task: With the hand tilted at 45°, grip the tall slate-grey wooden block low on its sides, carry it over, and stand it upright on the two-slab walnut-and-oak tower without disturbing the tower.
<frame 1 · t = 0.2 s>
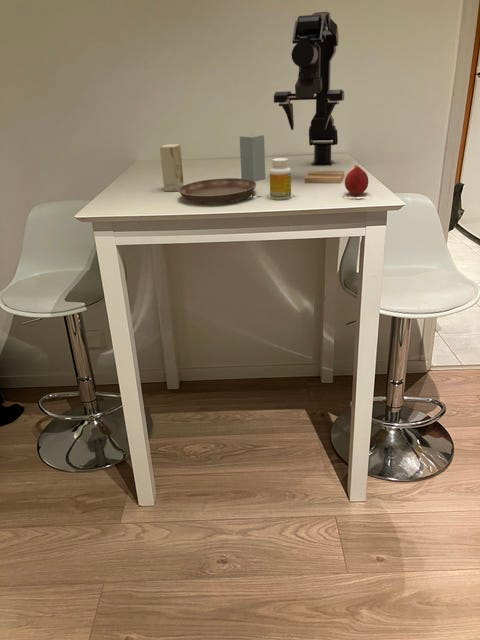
hand: (308, 129, 147), 14 cm above the table, tool pointing down, fingers open, 9 cm apart
walnut base slab: (324, 185, 151), on the table, touching oak top slab
oak top slab: (324, 179, 150), point 1 cm above the table, touching walnut base slab
plant saucer: (218, 198, 140), on the table
supplement bottle: (280, 198, 136), on the table
onion: (355, 197, 133), on the table
slate block: (253, 181, 156), on the table
skincare box: (174, 189, 152), on the table
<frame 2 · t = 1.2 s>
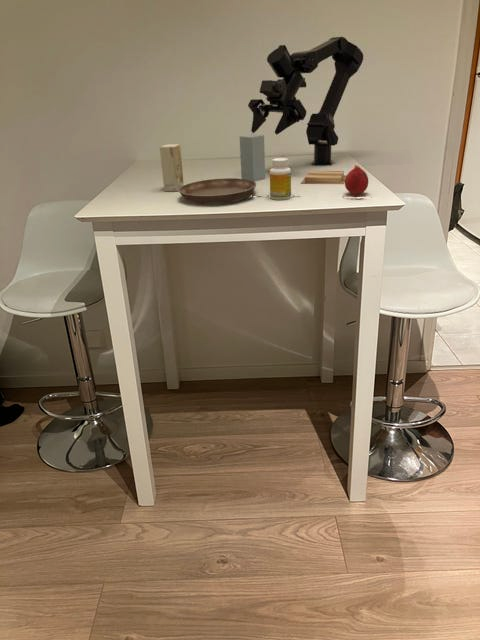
hand: (263, 132, 153), 13 cm above the table, tool tilted 45°, fingers open, 9 cm apart
nothing on the table moved.
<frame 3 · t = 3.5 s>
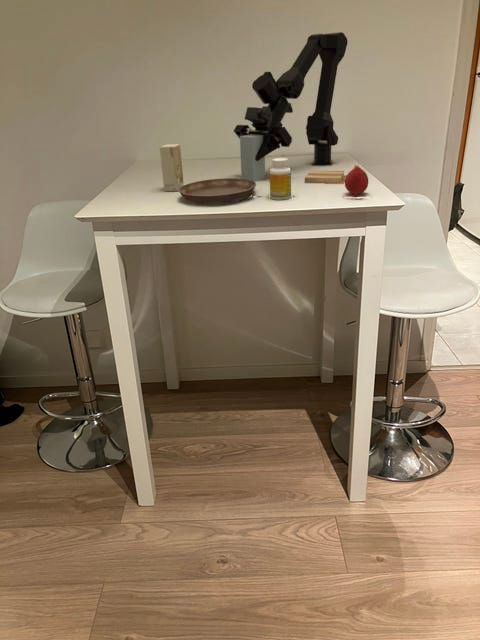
hand: (249, 159, 152), 7 cm above the table, tool tilted 45°, fingers closed on slate block, 5 cm apart
slate block: (253, 181, 156), on the table, touching gripper
everything else where it was.
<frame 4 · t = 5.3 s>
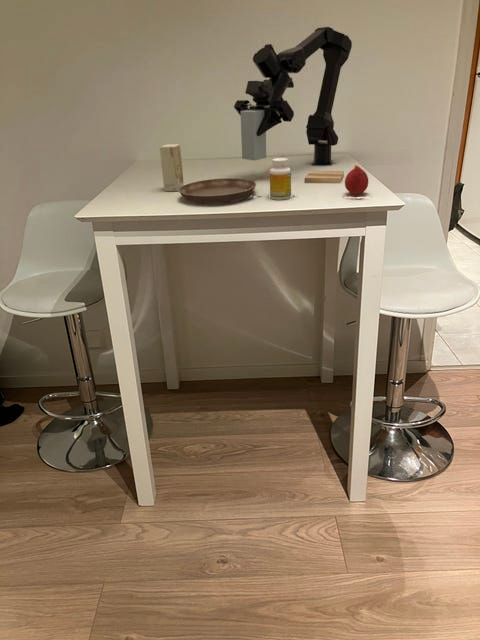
hand: (250, 134, 149), 13 cm above the table, tool tilted 45°, fingers closed on slate block, 5 cm apart
slate block: (254, 158, 153), point 7 cm above the table, touching gripper
everything else where it was.
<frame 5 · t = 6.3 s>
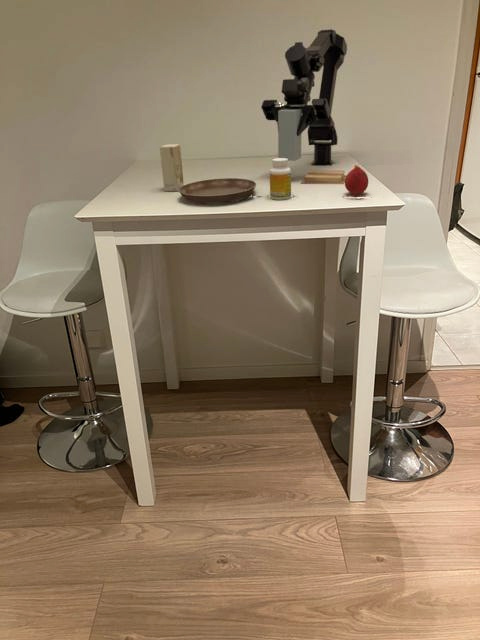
hand: (288, 134, 145), 13 cm above the table, tool tilted 45°, fingers closed on slate block, 5 cm apart
slate block: (289, 158, 149), point 7 cm above the table, touching gripper
everything else where it was.
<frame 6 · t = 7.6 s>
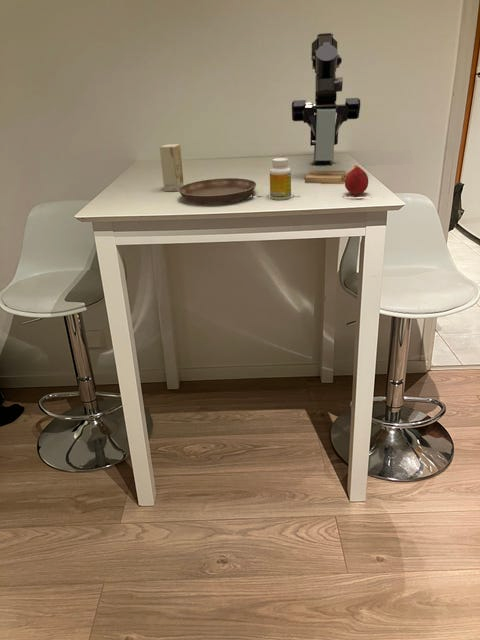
hand: (325, 134, 144), 13 cm above the table, tool tilted 45°, fingers closed on slate block, 5 cm apart
slate block: (324, 158, 148), point 6 cm above the table, touching gripper
everything else where it was.
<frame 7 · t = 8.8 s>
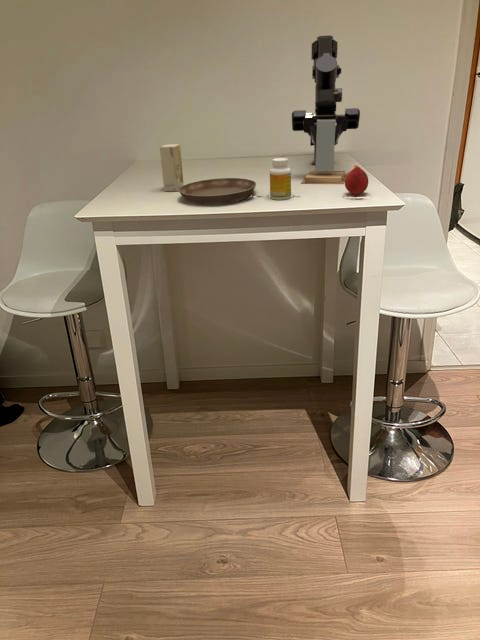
hand: (325, 144, 145), 10 cm above the table, tool tilted 45°, fingers closed on slate block, 5 cm apart
slate block: (324, 168, 149), point 4 cm above the table, touching gripper
everything else where it was.
when the fingers open (10 cm above the table, at t = 9.1 s): slate block drops 2 cm, resting on oak top slab.
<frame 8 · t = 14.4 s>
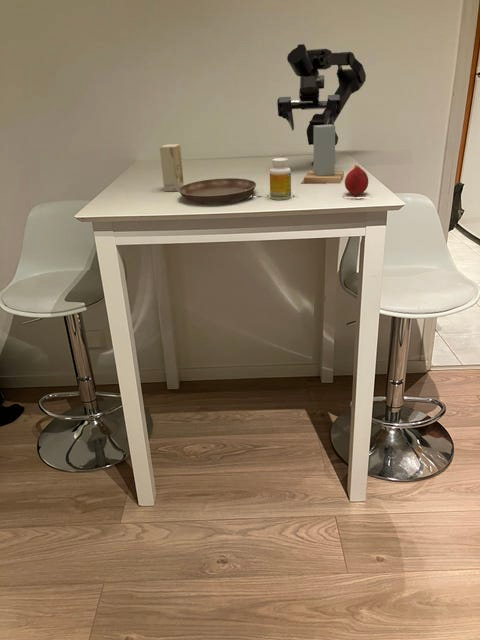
hand: (308, 128, 153), 14 cm above the table, tool tilted 45°, fingers open, 9 cm apart
oak top slab: (324, 179, 150), point 1 cm above the table, touching slate block, walnut base slab
slate block: (323, 173, 150), point 2 cm above the table, touching oak top slab
everything else where it was.
at the end: slate block 0.3 cm off-centre on the oak top slab, point 1.6 cm above the oak top slab's base; slate block tilted 1°; oak top slab moved 0.9 cm from its start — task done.
